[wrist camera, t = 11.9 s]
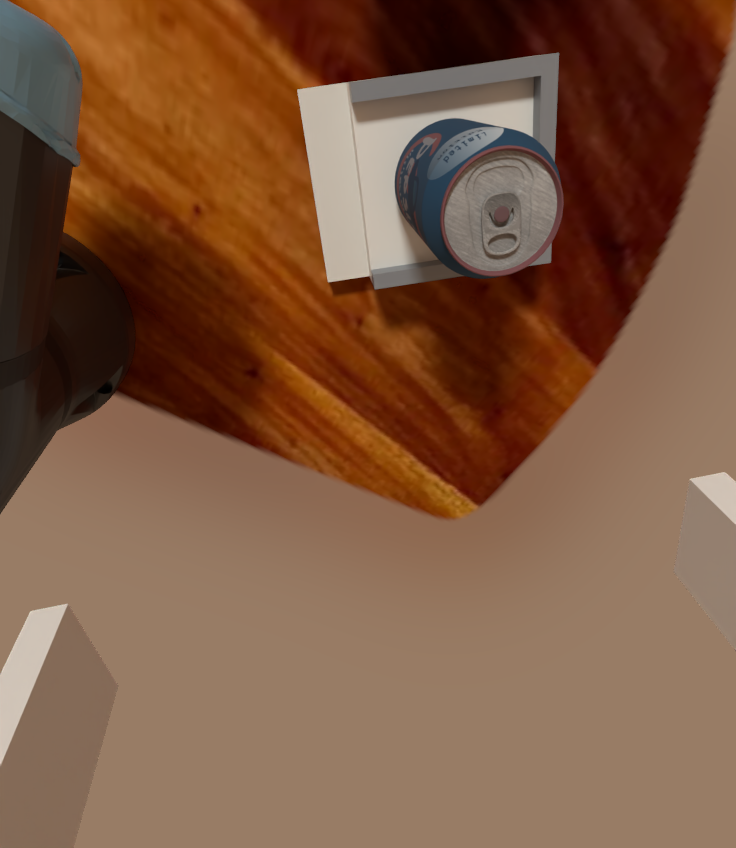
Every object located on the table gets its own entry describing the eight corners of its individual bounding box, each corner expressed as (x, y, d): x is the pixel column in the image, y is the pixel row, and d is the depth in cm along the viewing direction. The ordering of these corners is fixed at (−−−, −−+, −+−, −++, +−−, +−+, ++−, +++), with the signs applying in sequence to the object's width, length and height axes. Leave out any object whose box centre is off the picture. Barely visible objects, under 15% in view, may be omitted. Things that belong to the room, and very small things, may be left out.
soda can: (384, 128, 35) (420, 145, 25) (497, 107, 35) (579, 117, 25) (398, 243, 39) (435, 301, 28) (501, 224, 39) (574, 275, 28)
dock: (327, 276, 43) (330, 296, 39) (297, 89, 37) (297, 90, 33) (527, 246, 43) (550, 262, 39) (530, 56, 37) (559, 52, 33)
